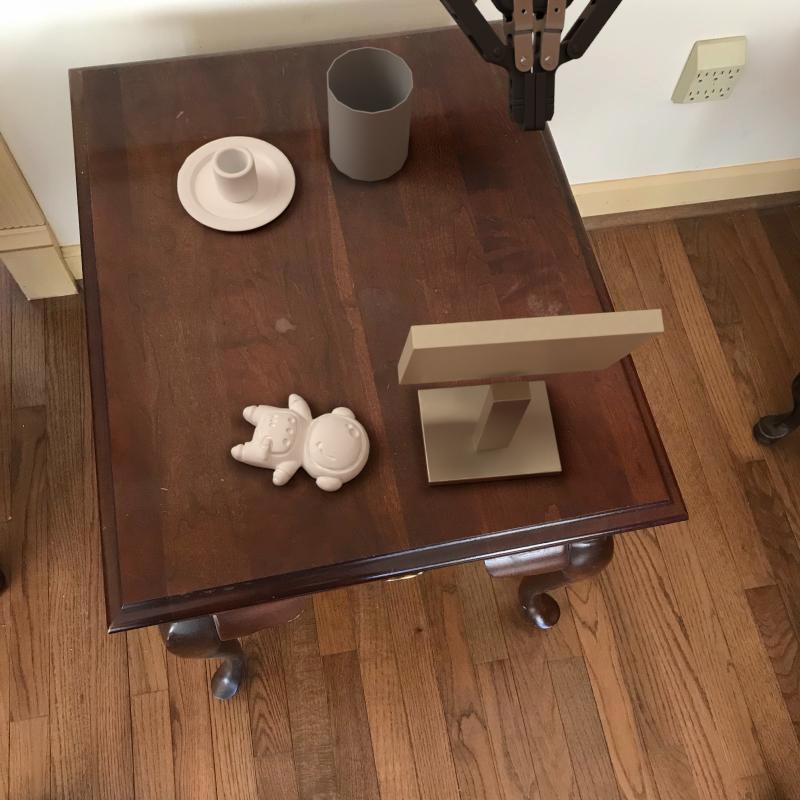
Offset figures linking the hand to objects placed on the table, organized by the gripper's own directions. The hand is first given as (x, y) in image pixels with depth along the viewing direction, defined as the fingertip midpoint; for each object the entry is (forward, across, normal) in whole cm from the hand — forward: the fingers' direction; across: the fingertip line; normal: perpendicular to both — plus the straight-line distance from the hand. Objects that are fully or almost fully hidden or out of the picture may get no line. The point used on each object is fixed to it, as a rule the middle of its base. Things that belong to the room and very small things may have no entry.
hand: (531, 130), depth 57 cm
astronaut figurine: (+27, -18, +11) cm, 34 cm away
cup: (+4, -9, +34) cm, 35 cm away
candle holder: (+7, -23, +31) cm, 39 cm away
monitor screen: (+19, -1, +4) cm, 19 cm away
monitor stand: (+27, -1, +10) cm, 29 cm away
